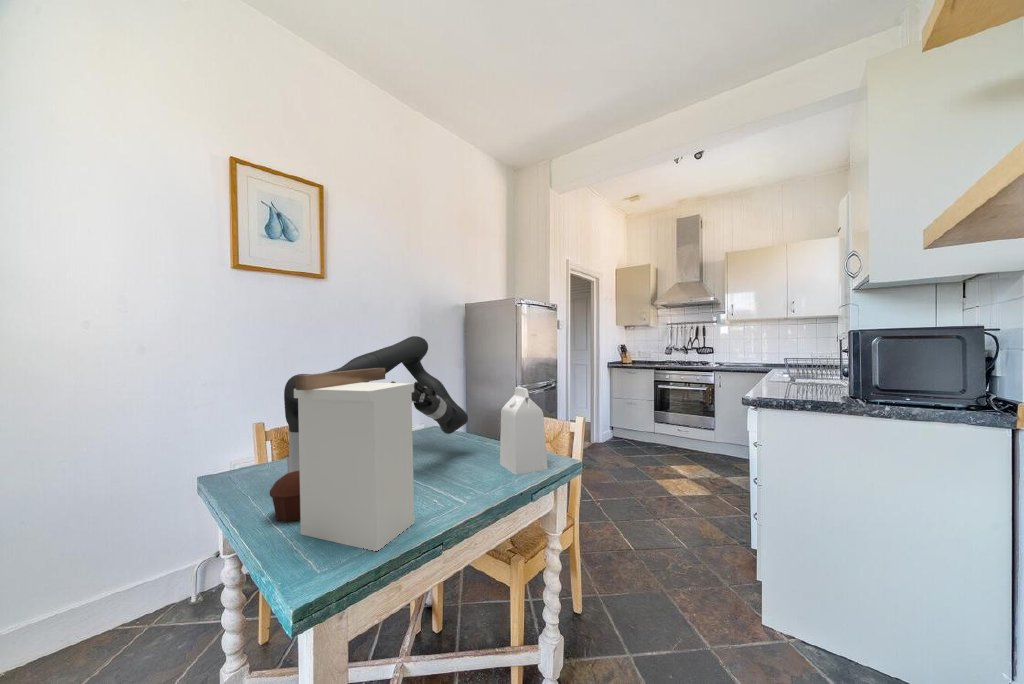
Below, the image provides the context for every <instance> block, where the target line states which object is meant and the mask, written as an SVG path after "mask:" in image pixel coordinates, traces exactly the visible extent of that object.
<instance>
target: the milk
mask: <svg viewBox="0 0 1024 684" xmlns="http://www.w3.org/2000/svg"><path fill="white" fill-rule="evenodd" d="M544 417H545V416H544V411H543V409H542V408H541V407H540V406H538V404H537V403H535V401H533V400H532V399H531V397H530V395H529V391H528V388H526V387H520V386H518V387H517V386H516V387H515V389H514V393H513V396H512V397H511V398H510V399H509V400H508V401H507V402H506V403H505V404H504V406H502V408H501V411H500V442H499V443H500V444H499V445H500V448H499V449H500V450H499V451H500V452H499V465H500V466H502V467H503V468H504V469H506V470H508V471H509V472H510V473H512V474H513V475H515V476H518V475H523V474H528V473H534V472H539V471H544V470H548V468H549V467H548V457H547V456H548V454H547V445H546V444H547V443H546V442H547V441H546V431H545V419H544Z"/></svg>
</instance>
